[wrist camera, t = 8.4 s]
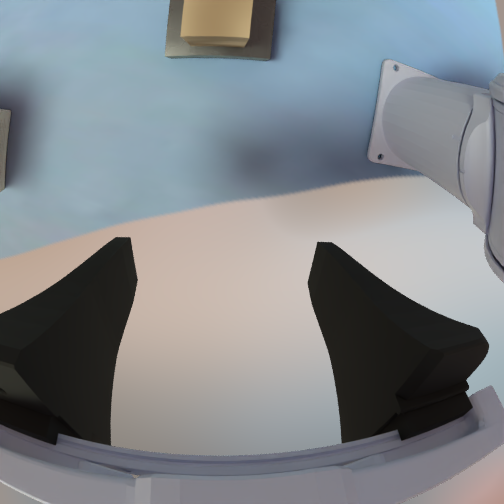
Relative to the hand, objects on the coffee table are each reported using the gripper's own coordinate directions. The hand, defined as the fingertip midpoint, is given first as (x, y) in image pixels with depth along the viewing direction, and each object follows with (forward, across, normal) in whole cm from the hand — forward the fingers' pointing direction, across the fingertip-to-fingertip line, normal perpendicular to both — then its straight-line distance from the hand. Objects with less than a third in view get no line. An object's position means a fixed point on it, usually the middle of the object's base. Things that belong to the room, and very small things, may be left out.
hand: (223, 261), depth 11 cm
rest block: (+10, +1, -10) cm, 15 cm away
